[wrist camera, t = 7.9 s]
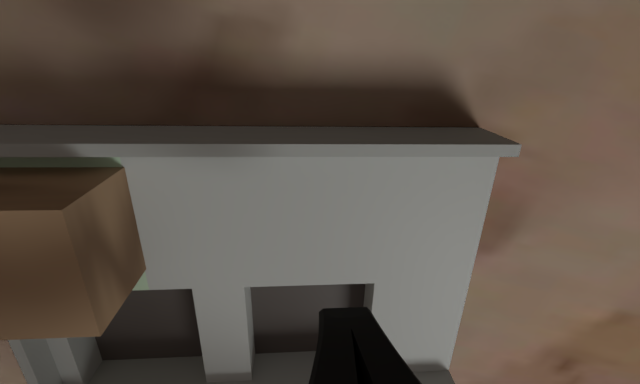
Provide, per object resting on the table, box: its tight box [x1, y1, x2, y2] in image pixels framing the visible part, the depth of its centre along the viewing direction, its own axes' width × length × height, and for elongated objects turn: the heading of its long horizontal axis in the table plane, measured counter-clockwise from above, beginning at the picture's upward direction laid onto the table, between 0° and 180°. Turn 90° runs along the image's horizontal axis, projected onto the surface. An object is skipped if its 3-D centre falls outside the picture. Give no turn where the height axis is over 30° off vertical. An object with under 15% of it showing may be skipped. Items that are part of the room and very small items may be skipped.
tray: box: [0, 125, 521, 384], centre depth 17 cm, size 15×22×3 cm
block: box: [0, 167, 146, 340], centre depth 13 cm, size 5×5×4 cm
